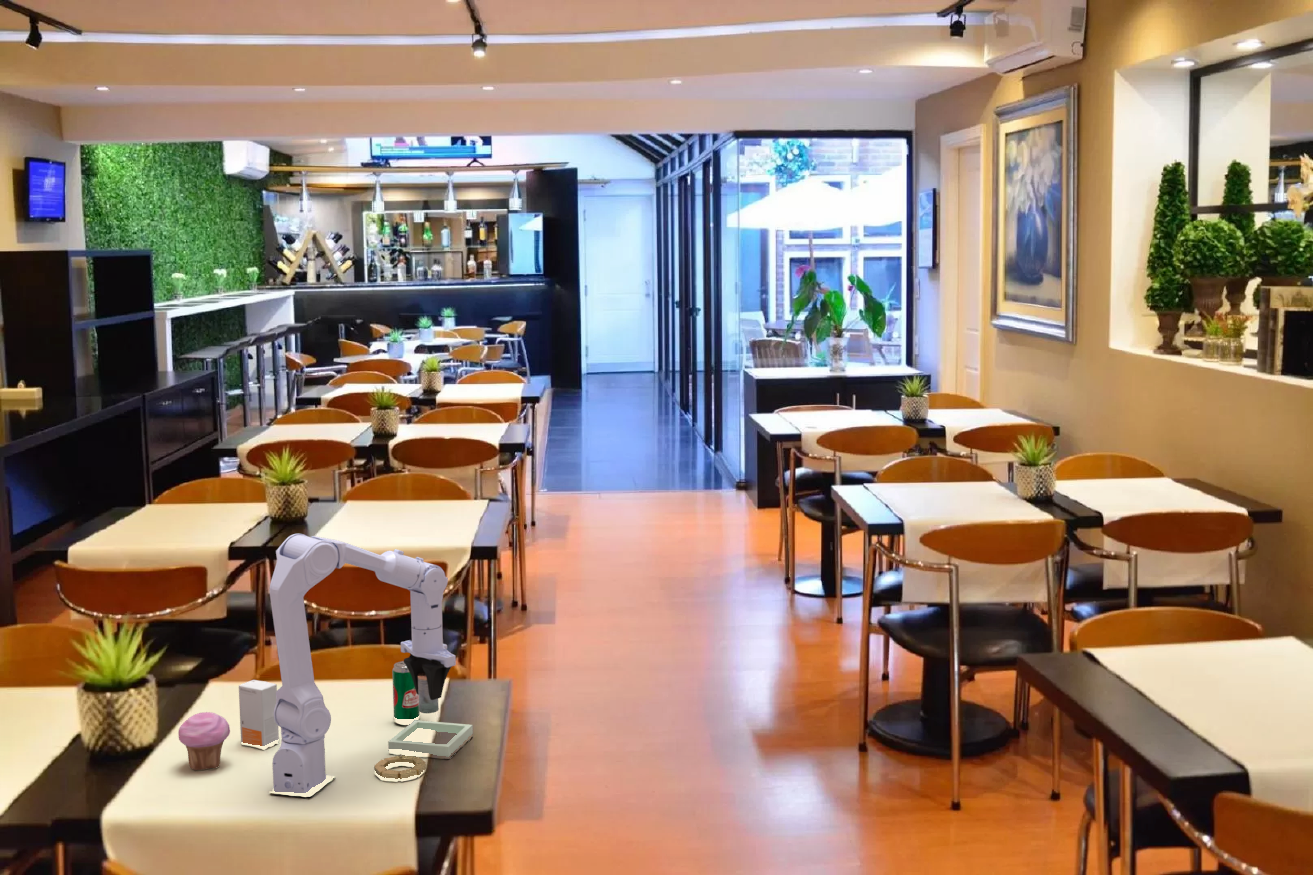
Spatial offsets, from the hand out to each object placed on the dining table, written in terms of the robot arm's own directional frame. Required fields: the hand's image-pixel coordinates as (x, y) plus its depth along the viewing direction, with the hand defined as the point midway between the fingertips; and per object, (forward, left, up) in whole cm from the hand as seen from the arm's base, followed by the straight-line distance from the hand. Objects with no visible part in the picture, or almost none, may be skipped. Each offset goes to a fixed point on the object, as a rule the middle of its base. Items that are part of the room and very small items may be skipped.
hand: (429, 695), depth 251 cm
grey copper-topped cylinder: (0, 0, -3) cm, 3 cm away
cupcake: (-18, +36, -10) cm, 42 cm away
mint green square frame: (+1, 0, -10) cm, 10 cm away
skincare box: (-6, +32, -10) cm, 34 cm away
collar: (-13, 0, -10) cm, 17 cm away
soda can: (+12, +10, -10) cm, 18 cm away
